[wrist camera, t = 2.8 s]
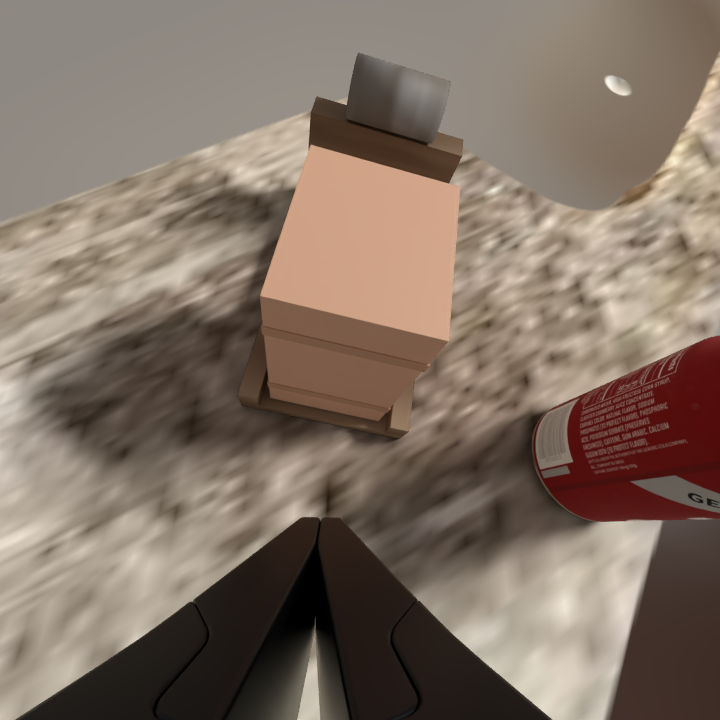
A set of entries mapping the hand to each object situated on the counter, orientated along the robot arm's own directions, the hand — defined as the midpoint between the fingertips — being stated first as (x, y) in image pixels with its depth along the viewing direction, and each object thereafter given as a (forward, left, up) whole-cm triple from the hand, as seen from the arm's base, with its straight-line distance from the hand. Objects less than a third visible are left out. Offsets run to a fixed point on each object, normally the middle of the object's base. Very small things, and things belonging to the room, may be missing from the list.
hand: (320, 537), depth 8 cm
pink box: (+9, +4, -11) cm, 15 cm away
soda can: (+12, -11, -12) cm, 21 cm away
